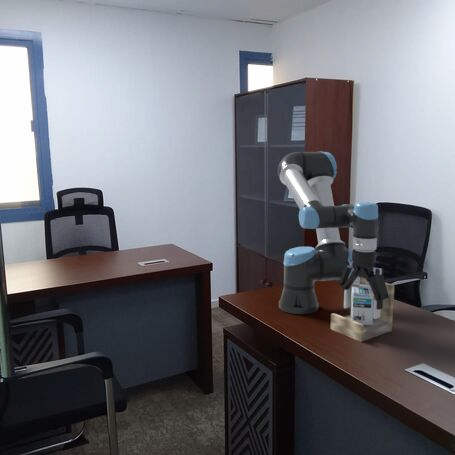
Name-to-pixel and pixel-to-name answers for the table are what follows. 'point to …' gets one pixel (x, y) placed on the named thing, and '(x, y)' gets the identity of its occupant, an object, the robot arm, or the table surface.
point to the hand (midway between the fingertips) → (361, 312)
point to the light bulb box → (362, 304)
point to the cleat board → (366, 331)
